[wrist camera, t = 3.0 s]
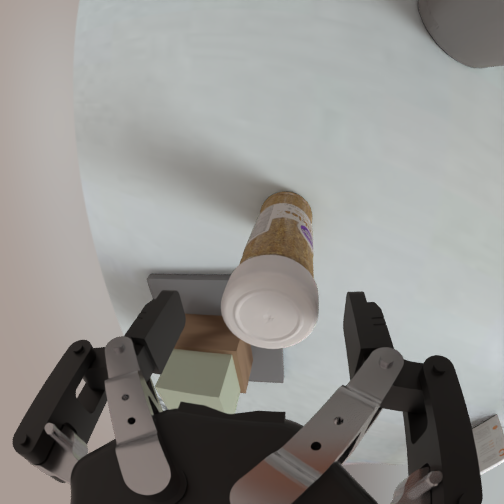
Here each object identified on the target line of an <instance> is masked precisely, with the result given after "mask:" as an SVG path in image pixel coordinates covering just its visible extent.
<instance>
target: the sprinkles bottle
mask: <svg viewBox="0 0 504 504" xmlns="http://www.w3.org/2000/svg"><path fill="white" fill-rule="evenodd" d="M311 224H312V212H311V208H310V206H309V204H308V202H307V201H306V200H305V199H304V198H303V197H301V196H299V195H297V194H295V193H292V192H279V193H276V194H273V195H271V196H270V197H268V199H267V200H266V201H265V202H264V203H263V205H262V207H261V210H260V215H259V216H258V219H257V221H256V223H255V225H254V228H253V230H252V233H251V235H250V237H249V240H248V242H247V245H246V247H245V249H244V252H243V256H242V259H241V261H240V264H239V266H238V267H237V268H236V269H235V270H234V271H233V273H232V274H231V276H230V278H229V281H228V283H227V285H226V288H225V291H224V293H223V296H222V300H221V313H222V317H223V319H224V322H225V323H226V325H227V327H228V328H229V329H230V331H231V332H232V333H233V334H234V335H236V336H237V337H238V338H240V339H241V340H243V341H244V342H246V343H248V344H251V345H253V346H257V347H261V348H267V349H279V348H286V347H289V346H292V345H295V344H297V343H299V342H301V341H302V340H304V339H305V338H306V337H307V336H308V335H309V334H310V333H311V332H312V331H313V329H314V327H315V326H316V323H317V319H318V311H319V300H318V288H317V285H316V282H315V280H314V277H313V276H314V275H313V254H314V253H313V231H312V225H311Z"/></svg>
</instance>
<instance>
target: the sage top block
mask: <svg viewBox="0 0 504 504" xmlns="http://www.w3.org/2000/svg"><path fill="white" fill-rule="evenodd" d="M155 388H156V390H157V392H158V393H159V395H160V397H161V398H162V400H163V402H164V403H165V405H166V406H167V408H168V410H169V409H175V408H178V407H179V405H180V402H187V403H193V404H200V405H205V406H208V407H210V408H213V409H216V410H219V411H221V412H224V413H227V414H235V411H236V407H237V403H238V399H239V395H240V391H241V390H240V386H239V382H238V378H237V374H236V369H235V365H234V361H233V357H232V354H219V353H208V352H198V351H189V350H180V349H173V351H172V353H171V355H170V357H169V359H168V362H167V364H166V366H165V368H164V370H163V372H162V374H161V375H160V377H159V379H158V381H157V383H156V385H155Z"/></svg>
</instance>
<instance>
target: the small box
mask: <svg viewBox="0 0 504 504" xmlns="http://www.w3.org/2000/svg"><path fill="white" fill-rule="evenodd" d="M472 431H473V436H474V441H475V446H476V451H477V456H478V463H479V469H480V475H481V474H483V473H485V472H487V471H489V470H491V469H492V468H494V467H496V466H498V465H499V464H501V463H503V462H504V434H503V430H502V427H501V424H500V421H499V418H498V415H495V416H493V417H492V418H490V419H489V420H487V421H485V422H484V423H482V424H480V425H479V426H477V427H475V428H473V429H472Z"/></svg>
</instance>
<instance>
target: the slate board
mask: <svg viewBox="0 0 504 504" xmlns="http://www.w3.org/2000/svg"><path fill="white" fill-rule="evenodd" d="M230 276H231V275H180V274H150V275H149V277H148V278H147V282H148V285H149V288H150V291H151V294H152V297H153V299H156V298H157V297H158V295H159V294H160V292H161V291H162V290H176V291H178V292H179V295H180V298H181V302H182V305H183V309H184V312H185V314H199V315H218V316H222V313H221V300H222V296H223V293H224V291H225V288H226V285H227V283H228V281H229V278H230ZM251 350H252V356H253V363H252V367H251V372H250V376H249V381H254V382H272V383H283V381H284V366H283V348H279V349H267V348H261V347H257V346H253V345H251Z"/></svg>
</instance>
